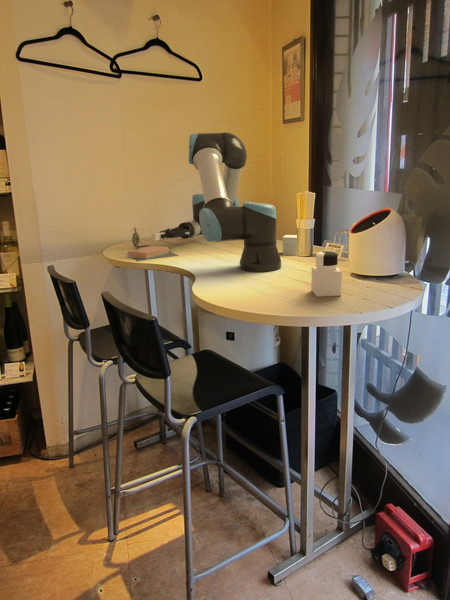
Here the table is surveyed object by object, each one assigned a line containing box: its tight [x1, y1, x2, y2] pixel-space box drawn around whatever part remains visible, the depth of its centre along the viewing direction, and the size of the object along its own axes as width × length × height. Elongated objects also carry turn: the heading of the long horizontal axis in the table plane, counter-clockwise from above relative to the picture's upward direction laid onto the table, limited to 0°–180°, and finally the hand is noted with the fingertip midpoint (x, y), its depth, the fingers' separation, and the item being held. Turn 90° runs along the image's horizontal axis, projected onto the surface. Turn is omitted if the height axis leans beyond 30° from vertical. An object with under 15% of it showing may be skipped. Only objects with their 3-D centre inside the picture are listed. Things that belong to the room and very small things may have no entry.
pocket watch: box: [131, 226, 151, 249], centre depth 217 cm, size 8×8×10 cm
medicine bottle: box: [310, 250, 343, 298], centre depth 134 cm, size 7×7×12 cm
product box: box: [282, 234, 298, 256], centre depth 192 cm, size 6×6×7 cm
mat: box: [126, 250, 180, 263], centre depth 200 cm, size 18×18×1 cm
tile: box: [127, 245, 170, 259], centre depth 199 cm, size 3×10×14 cm
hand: (154, 237), depth 201 cm, fingers closed
